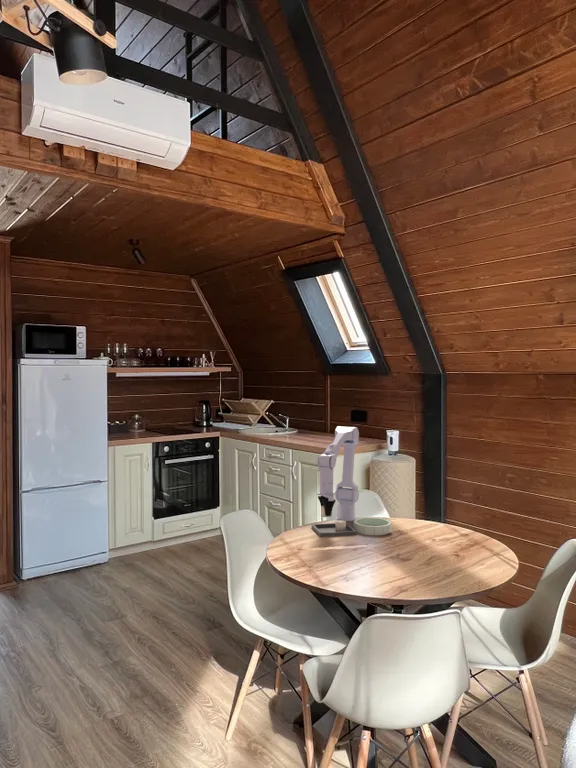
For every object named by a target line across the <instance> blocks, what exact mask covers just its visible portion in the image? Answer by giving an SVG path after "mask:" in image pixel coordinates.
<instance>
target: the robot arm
mask: <svg viewBox="0 0 576 768" xmlns="http://www.w3.org/2000/svg"><path fill="white" fill-rule="evenodd" d="M359 437H360V432H359V428H358V427H356V426H340V425H338V426H336V428H335V430H334V440H333V441H332V443H330V444H328V445H327V447H326V449H325V451H324V452H323V453H322V454H320V455H319V456H318V458H317V467H318V472H319V492H316V496H317V495H318V496H317V499H318V500H319V503H320V507H321V506H323V505H324V509H325V515H326V516H331V513H332V512H333V508H334V505H335V503H336V502H337V506H336V507H337V509H336V510H337V513H336V515H337V516H336V517H335V518H334V519H336V520H344V521H346V522H354V520H355V519H356V518H355V516H356V515H355V514H356V513H355V510H356V505H355V504H356V503H357V502H358V501H359V497H360V496H359V495H360V491H359V485H357V484H356V483H355V482H354V465H355V450H356V446H357V445H359V441H360V439H359ZM341 446H343V462H342V475H341V476H342V477H341V481H340V482H339V483H337V485H336V489H335V493H334V468H335V467H336V464H337V458H338V456H339V455H340V453H341ZM334 496H335V497H334ZM334 498H335V499H334ZM332 514H333V513H332ZM331 517H332V516H331Z"/></svg>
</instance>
